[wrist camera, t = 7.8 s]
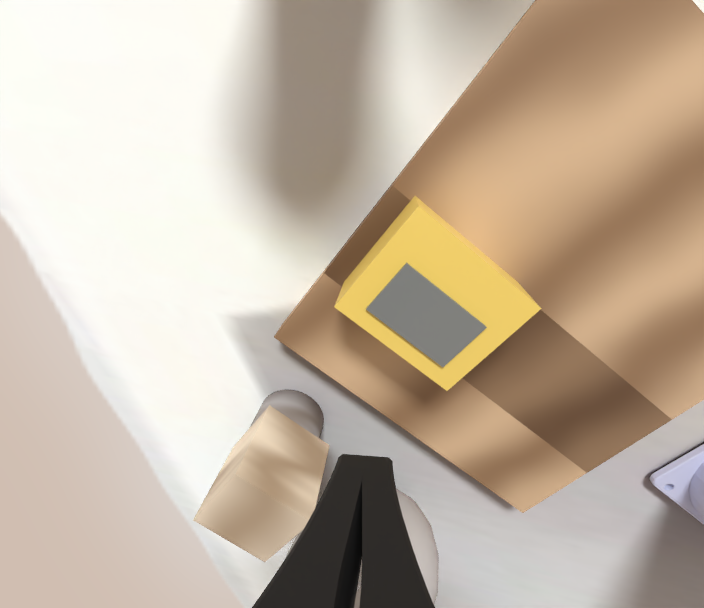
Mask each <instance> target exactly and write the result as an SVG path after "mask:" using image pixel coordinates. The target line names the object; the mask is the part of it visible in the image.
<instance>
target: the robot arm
mask: <svg viewBox="0 0 704 608" xmlns="http://www.w3.org/2000/svg"><path fill="white" fill-rule="evenodd" d="M650 481H651V482H652V483H653V485H654V486H655V487H656V488H657V489H659V490H660V491H661V492H662V493H664V494H665V495H666V496H668V497H669V498H670V499H671V500H673V501H674V502H675V503H676V504H678V505H679V506H680V507H682V508H683V509H684V510H685V511H687V512H688V513H689V514H691V515H692V516H693V517H694V518H696V519H697V520H698V521H699V522H701V523H702V524H703V525H704V444H703V445H701V446H699V447H697V448H696V449H694V450H692V451H691V452H689V453H687V454H685V455H684V456H682V457H680V458H678V459H677V460H675V461H673V462H672V463H670V464H668V465H666V466H665V467H663V468H661V469H659V470H658V471H656V472H654V473H653V474H652V475H651V476H650ZM361 560H362V581H361V595H360V606H359V608H435V607H434V604H433V602H432V599H431V597H430V594H429V592H428V589H427V586H426V584H425V581H424V578H423V576H422V573H421V570H420V568H419V565H418V562H417V559H416V556H415V553H414V551H413V548H412V545H411V541H410V538H409V535H408V532H407V529H406V525H405V522H404V519H403V515H402V512H401V508H400V504H399V500H398V496H397V491H396V486H395V481H394V475H393V465H392V460H391V459H389V458H388V457H375V456H361V455H347V454H342V455H341V456H340V457H339V458H338V461H337V464H336V466H335V469H334V471H333V473H332V476H331V478H330V480H329V482H328V484H327V487H326V489H325V491H324V493H323V495H322V497H321V499H320V501H319V502H318V504H317V506H316V508H315V510H314V512H313V513H312V515H311V517H310V519H309V521H308V522H307V524H306V526H305V528H304V530H303V531H302V533H301V535H300V536H299V538H298V539H297V541H296V543H295V544H294V546H293V547H292V549H291V551H290V552H289V554H288V556H287V557H286V559H285V560H284V562H283V564H282V565H281V567H280V568H279V570H278V571H277V573H276V574H275V576H274V577H273V579H272V580H271V582H270V583H269V584H268V586H267V587H266V589H265V590H264V592H263V593H262V594H261V596H260V597H259V599H258V600H257V601H256V603H255V604H254V606H253V607H252V608H354V605H355V598H356V592H357V586H358V579H359V573H360V566H361Z"/></svg>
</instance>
